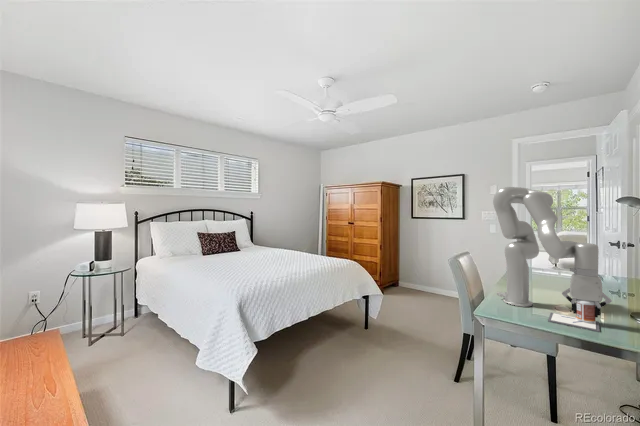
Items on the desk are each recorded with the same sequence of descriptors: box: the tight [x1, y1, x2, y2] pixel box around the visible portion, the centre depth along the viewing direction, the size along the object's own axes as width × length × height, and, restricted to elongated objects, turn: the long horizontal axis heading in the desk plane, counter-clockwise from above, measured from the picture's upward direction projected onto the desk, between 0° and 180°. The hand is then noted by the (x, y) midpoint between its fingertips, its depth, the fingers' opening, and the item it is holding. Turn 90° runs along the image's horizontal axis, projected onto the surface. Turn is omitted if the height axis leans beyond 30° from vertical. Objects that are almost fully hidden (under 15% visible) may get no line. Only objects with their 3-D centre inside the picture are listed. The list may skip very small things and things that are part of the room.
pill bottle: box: [575, 299, 596, 323], centre depth 123 cm, size 6×6×11 cm
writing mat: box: [547, 312, 601, 333], centre depth 124 cm, size 16×13×1 cm
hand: (585, 314), depth 123 cm, fingers closed on pill bottle, 6 cm apart
